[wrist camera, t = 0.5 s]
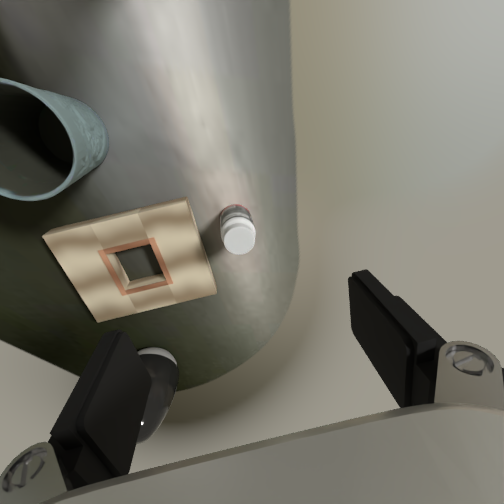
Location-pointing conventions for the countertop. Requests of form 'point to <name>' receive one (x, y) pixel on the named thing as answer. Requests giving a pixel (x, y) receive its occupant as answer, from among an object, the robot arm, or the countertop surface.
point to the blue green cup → (45, 141)
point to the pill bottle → (237, 229)
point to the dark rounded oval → (158, 388)
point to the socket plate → (126, 237)
